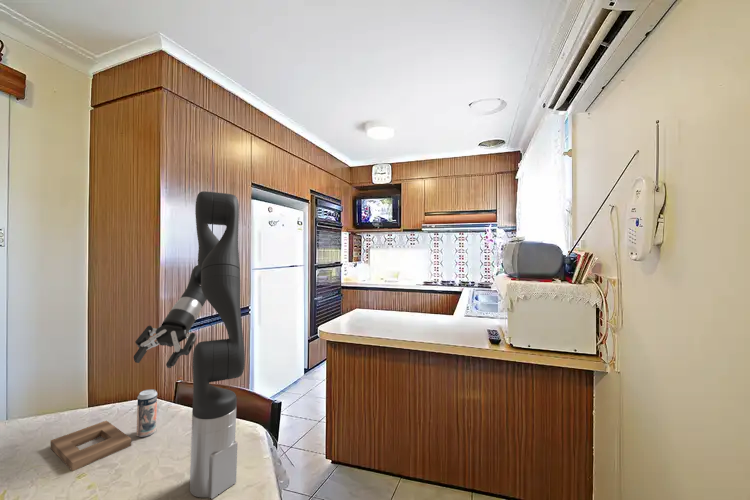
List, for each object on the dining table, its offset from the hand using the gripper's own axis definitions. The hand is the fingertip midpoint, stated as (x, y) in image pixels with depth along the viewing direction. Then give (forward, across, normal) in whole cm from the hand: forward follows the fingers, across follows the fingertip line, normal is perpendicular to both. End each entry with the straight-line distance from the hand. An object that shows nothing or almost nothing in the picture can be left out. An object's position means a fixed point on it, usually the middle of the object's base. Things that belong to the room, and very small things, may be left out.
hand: (152, 364), depth 87 cm
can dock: (+17, -12, +18) cm, 27 cm away
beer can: (+11, -1, +21) cm, 24 cm away
